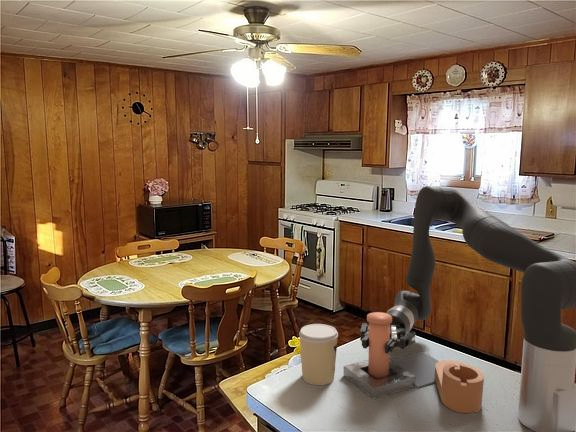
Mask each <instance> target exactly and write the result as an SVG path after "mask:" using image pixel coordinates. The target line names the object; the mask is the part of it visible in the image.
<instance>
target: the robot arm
mask: <svg viewBox="0 0 576 432" xmlns="http://www.w3.org/2000/svg"><path fill="white" fill-rule="evenodd" d="M413 218H414V219H413V231H412V248H411V255H410V260H409V265H408V268H407V273H406V277H405V283H406V285H408V286H409V287H410V288H411V289H413V290H415V291H416V292H417V293H415V292H412V291H408V290H400V291H399V292H398V293H397V294H396V296H395V298H394V303H393V307H391V308H389V309H388V310H387V311H386V312H385V313H387V314H389V315H391V316H392V323H391V324H390V340H389V341H388V342H387V343H386V345H385V353H388V354H389V355H390V353H392V352H394V350H395V349H398V348H399V349H400V350H405V349H407V348H409V347H411V346H412V345H413V344H415V343H416V332H415V331H411V330H412V328H413V325H414V324H415V323H416V322H417V321H421V322H422V321H425V320H426V319H428V318H429V316H430V315H431V312H432V300H431V299H432V297H431V284H432V279H433V276H434V272H435V269H436V254H435V252H434V248H433V245H432V243H431V238H430V227H431V224H432V221H446V222H447V221H448V222H450V223H452V224H455V225H456V226H458V227H459V228H461V231H462V237H463V240H464V241H465V243H466V244H467V245H468V247H469V248H470V249H472V250H473V251H474V252H476V253H477V254H478V255H480V256H481V257H483V258H485V260H488V261H489V262H491V263H493V264H497V265H500V266H503V267H506V268H508V269H511V270H514V271H519V272H521V273H523V275H522V278H521V289H520V292H521V293H520V321H521V325H522V328H523V345H522V357H521V368H520V369H521V374H520V383H519V396H518V397H519V399H518V400H519V401H518V414H517V418H518V420H519V422H520V423H521V424H522V425H523V426H524V427H526V428H528V429H529V430H531V431H533V432H575V431H576V383H575V377H576V376H575V375H576V330H575V329H574V328H573V327H571V326H570V325H567V324H565V323H563V322H562V310H569V309H575V308H576V261H574V260H572V259H570V258H568V257H565V256H564V255H562V254H559V253H557V252H554V251H552V250H550V249H549V248H546V247H544V246H542V245H541V244H539V243H537V242H536V241H534V240H533V239H531V238H529V237H528V236H526V235H525V234H524V233H521V232H520V231H518V230H516V229H514V228H513V227H512V226H511V225H509V224H507V223H506V222H505V221H502V220H501V219H499V218H498V217H496V216H494V215H492V214H490V213H489V212H487V211H486V210H484V209H483V208H481V207H479V206H477V205H476V204H474V203H473V202H471V201H470V199H468V198H467V197H466V196H465V195H463V193H461V192H459V190H457V189H455V188H453V187H447V186H438V185H436V186H435V185H425V186H422V188H421V189H419V191H418V193H417V196H416V201H415V206H414V217H413ZM359 332H360V333H359V335H360V337H359V339H360V341H361V346H362V348H363V349H366V350H367V349H368V348H369V324H368V323H366V322H363V323H362V325H361V327H360V331H359Z"/></svg>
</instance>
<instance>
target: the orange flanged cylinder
mask: <svg viewBox="0 0 576 432" xmlns="http://www.w3.org/2000/svg"><path fill="white" fill-rule="evenodd" d="M366 320H367V322H368V326H369V346H368V359H367V360H368V375H370V376H371V377H373V378H374V379H375V380H378V379H381V378H385V377H388V376H389V360H390V353H389V354H388V353H385V345H386V343H387V342H388V341H389V340H390V324H391V323H392V316H391V315H389V314H387V313H386V312H381V311H375V312H370V313H368V314H367V315H366Z"/></svg>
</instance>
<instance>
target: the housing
mask: <svg viewBox="0 0 576 432" xmlns="http://www.w3.org/2000/svg"><path fill="white" fill-rule="evenodd" d="M390 360H391V359H389V376H388V377H385V378H381V379H378V380H375V379H374V378H373V377H371V376H370V375H368V359H367V360H366V359H365V360H362V361H358V362H355V363H350V364H349V363H348V364H346V365H343V377H345V378H348V379H347V380H349V381H350V382H351V383H352V384H354V385H355V386H356V387H358V388H359V389H360V390H362V391H363V392H364V393H365V394H367V395H368V396H369V397H370V398H372V399H376V398H381V397H384V396H387V395H391V394H394V393H398V392H401V391H404V390H407V389H410V388H414V387H415V376H414V375H413V374H411V373H409V372H408V371H406V370H405V369H403V368H401V367H400V366H398V365H396V364H395V363H393V362H392V361H390Z"/></svg>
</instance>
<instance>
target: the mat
mask: <svg viewBox="0 0 576 432" xmlns="http://www.w3.org/2000/svg"><path fill="white" fill-rule="evenodd" d="M389 360H390V361H392V362H393V363H395V364H396V365H398V366H400V367H401V368H403V369H405V370H406V371H408V372H409V373H411V374H413V375H414V376H415V386H414V387H415V388H417V389H420V388H422V387H426V386H430V385H433V384H436V380H435V364H436V363H437V362H439V361H440V360H438V359H436V358H434V357H433V356H430V355H428V354H427V353H425V352H423V351H418V352H415V353H411V354H410V353H409V354H406V355H403V356H399V357H395V358H390V359H389Z"/></svg>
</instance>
